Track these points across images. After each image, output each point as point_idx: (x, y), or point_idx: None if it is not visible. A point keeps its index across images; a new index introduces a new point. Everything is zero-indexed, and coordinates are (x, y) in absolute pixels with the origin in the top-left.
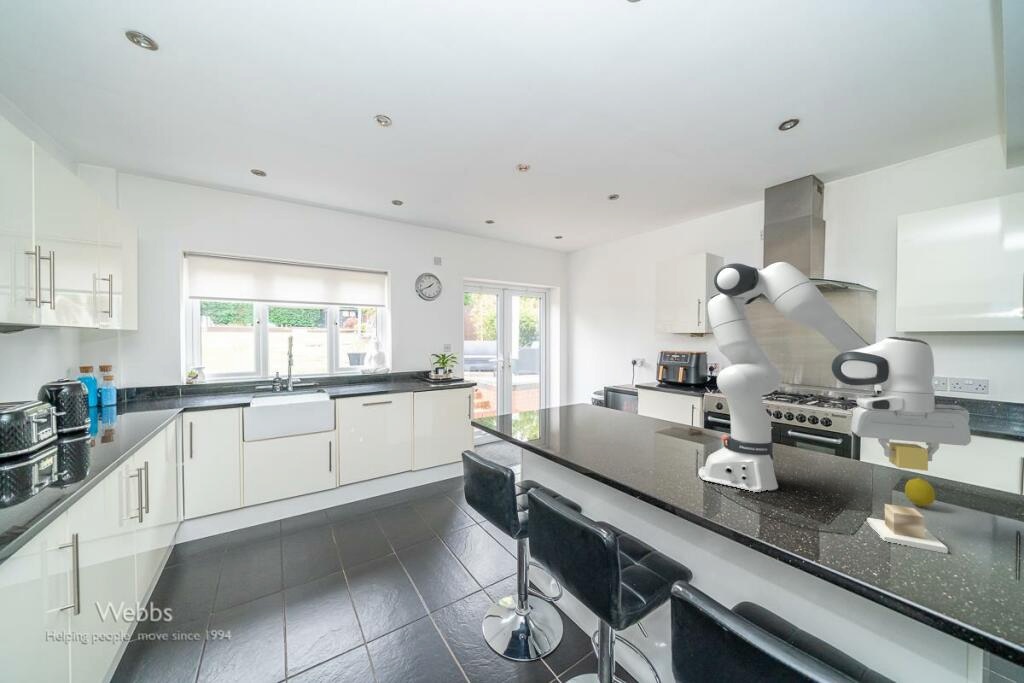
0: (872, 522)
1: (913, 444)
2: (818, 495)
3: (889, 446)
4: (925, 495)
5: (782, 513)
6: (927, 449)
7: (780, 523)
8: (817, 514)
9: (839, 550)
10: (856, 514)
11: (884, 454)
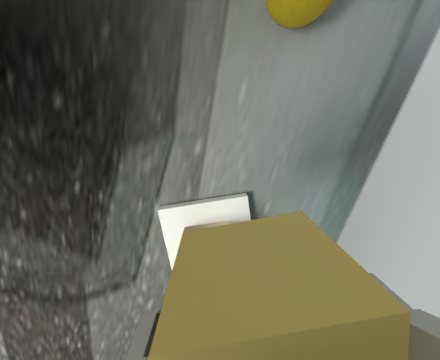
0: (164, 232)
1: (373, 342)
2: (63, 79)
3: (164, 319)
4: (306, 21)
5: (18, 258)
6: (433, 347)
7: (27, 306)
8: (76, 222)
9: (117, 346)
10: (144, 171)
11: (144, 313)
